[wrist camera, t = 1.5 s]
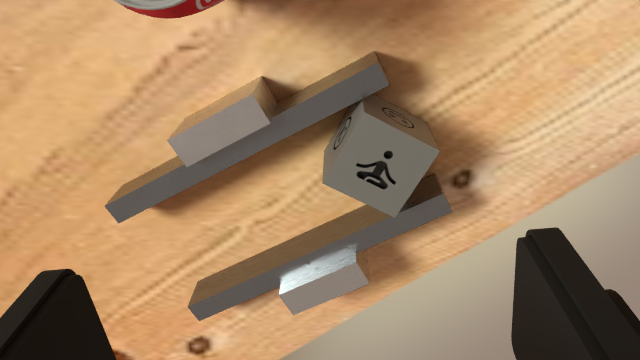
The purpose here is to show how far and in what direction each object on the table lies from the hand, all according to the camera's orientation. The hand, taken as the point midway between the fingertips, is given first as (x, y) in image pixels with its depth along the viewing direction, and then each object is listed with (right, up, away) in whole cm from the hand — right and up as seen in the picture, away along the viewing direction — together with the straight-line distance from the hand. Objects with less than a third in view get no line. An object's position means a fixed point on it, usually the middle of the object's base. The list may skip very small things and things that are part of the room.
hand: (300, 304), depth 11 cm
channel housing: (-2, +2, +25) cm, 25 cm away
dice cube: (+4, +6, +23) cm, 24 cm away
